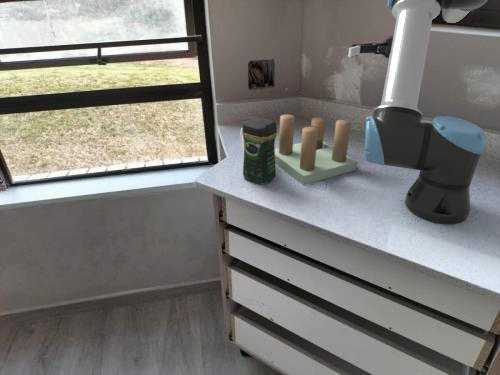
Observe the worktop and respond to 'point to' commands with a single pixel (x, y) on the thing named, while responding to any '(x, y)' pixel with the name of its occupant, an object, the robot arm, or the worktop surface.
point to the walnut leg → (319, 130)
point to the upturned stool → (313, 152)
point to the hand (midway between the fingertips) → (369, 55)
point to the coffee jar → (259, 149)
